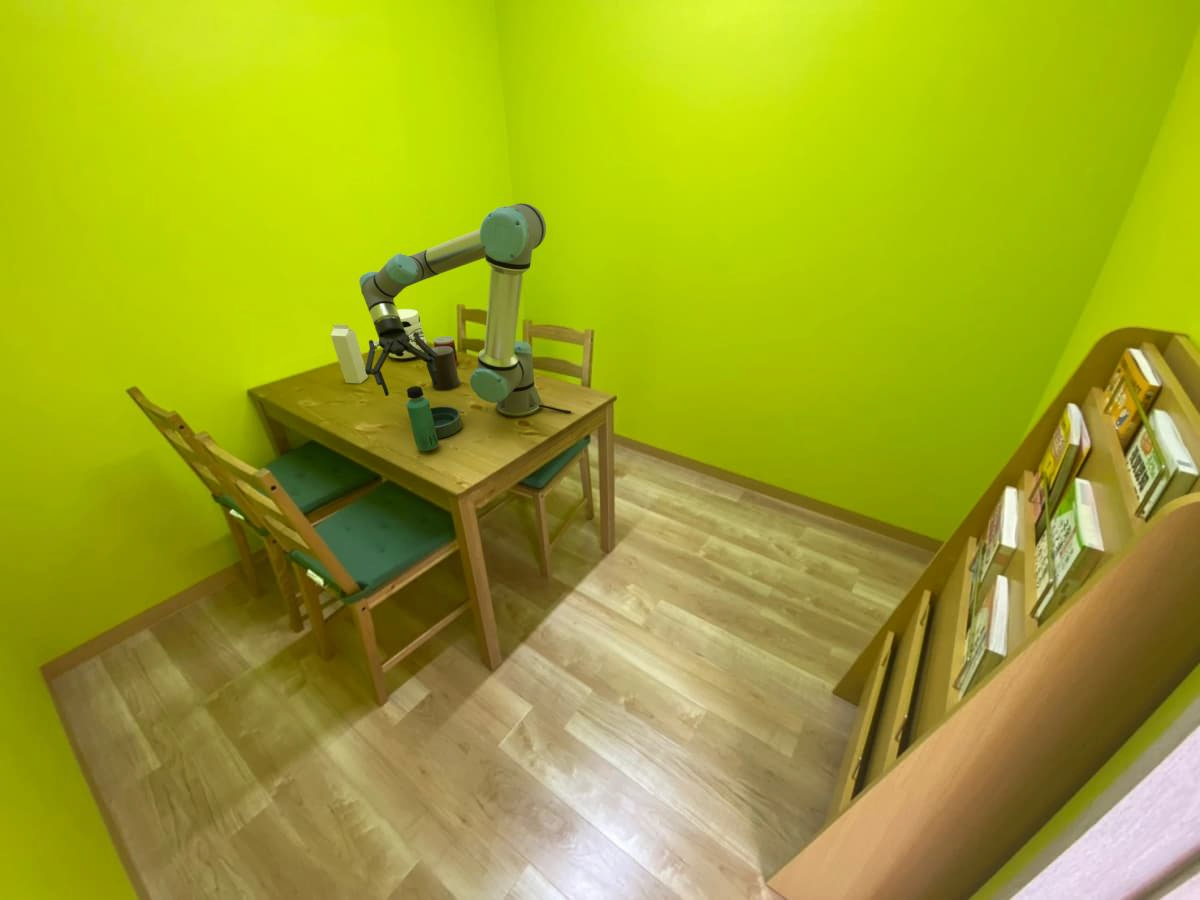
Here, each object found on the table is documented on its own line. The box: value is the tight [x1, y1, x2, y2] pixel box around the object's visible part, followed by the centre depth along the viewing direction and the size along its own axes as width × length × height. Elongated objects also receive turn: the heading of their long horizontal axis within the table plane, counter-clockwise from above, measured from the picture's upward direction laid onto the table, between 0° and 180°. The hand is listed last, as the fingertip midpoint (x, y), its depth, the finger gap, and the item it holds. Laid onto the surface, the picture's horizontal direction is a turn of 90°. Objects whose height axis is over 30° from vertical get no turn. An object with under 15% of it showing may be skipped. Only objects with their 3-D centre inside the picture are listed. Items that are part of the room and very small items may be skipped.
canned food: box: [433, 335, 459, 366], centre depth 195 cm, size 8×8×11 cm
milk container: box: [388, 308, 429, 360], centre depth 203 cm, size 17×17×18 cm
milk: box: [330, 323, 369, 385], centre depth 180 cm, size 6×6×22 cm
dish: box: [430, 405, 463, 439], centre depth 152 cm, size 14×14×4 cm
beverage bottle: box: [405, 385, 439, 452], centre depth 137 cm, size 6×7×20 cm
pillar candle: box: [427, 346, 460, 391], centre depth 177 cm, size 10×10×15 cm
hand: (411, 388), depth 137 cm, fingers open, 13 cm apart
